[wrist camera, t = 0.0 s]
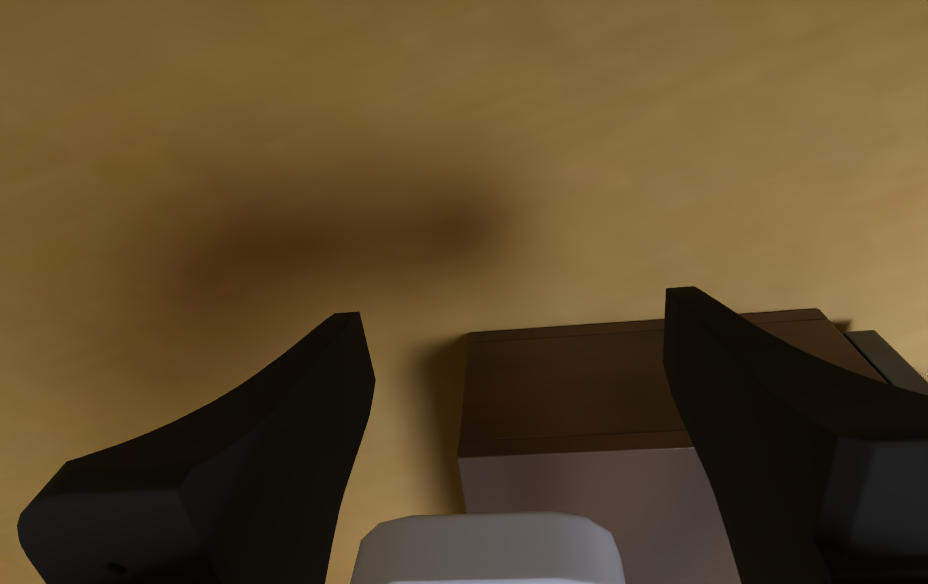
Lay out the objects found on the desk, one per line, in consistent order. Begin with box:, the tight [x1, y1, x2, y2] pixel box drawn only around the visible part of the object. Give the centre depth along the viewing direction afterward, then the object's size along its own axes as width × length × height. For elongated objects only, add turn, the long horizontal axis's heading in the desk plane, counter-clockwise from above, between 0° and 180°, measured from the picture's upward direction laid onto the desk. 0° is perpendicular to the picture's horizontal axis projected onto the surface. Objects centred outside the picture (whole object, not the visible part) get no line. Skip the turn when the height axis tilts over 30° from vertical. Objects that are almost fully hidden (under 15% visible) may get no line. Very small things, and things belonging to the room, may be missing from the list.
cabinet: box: [457, 309, 888, 584], centre depth 25 cm, size 15×13×8 cm
